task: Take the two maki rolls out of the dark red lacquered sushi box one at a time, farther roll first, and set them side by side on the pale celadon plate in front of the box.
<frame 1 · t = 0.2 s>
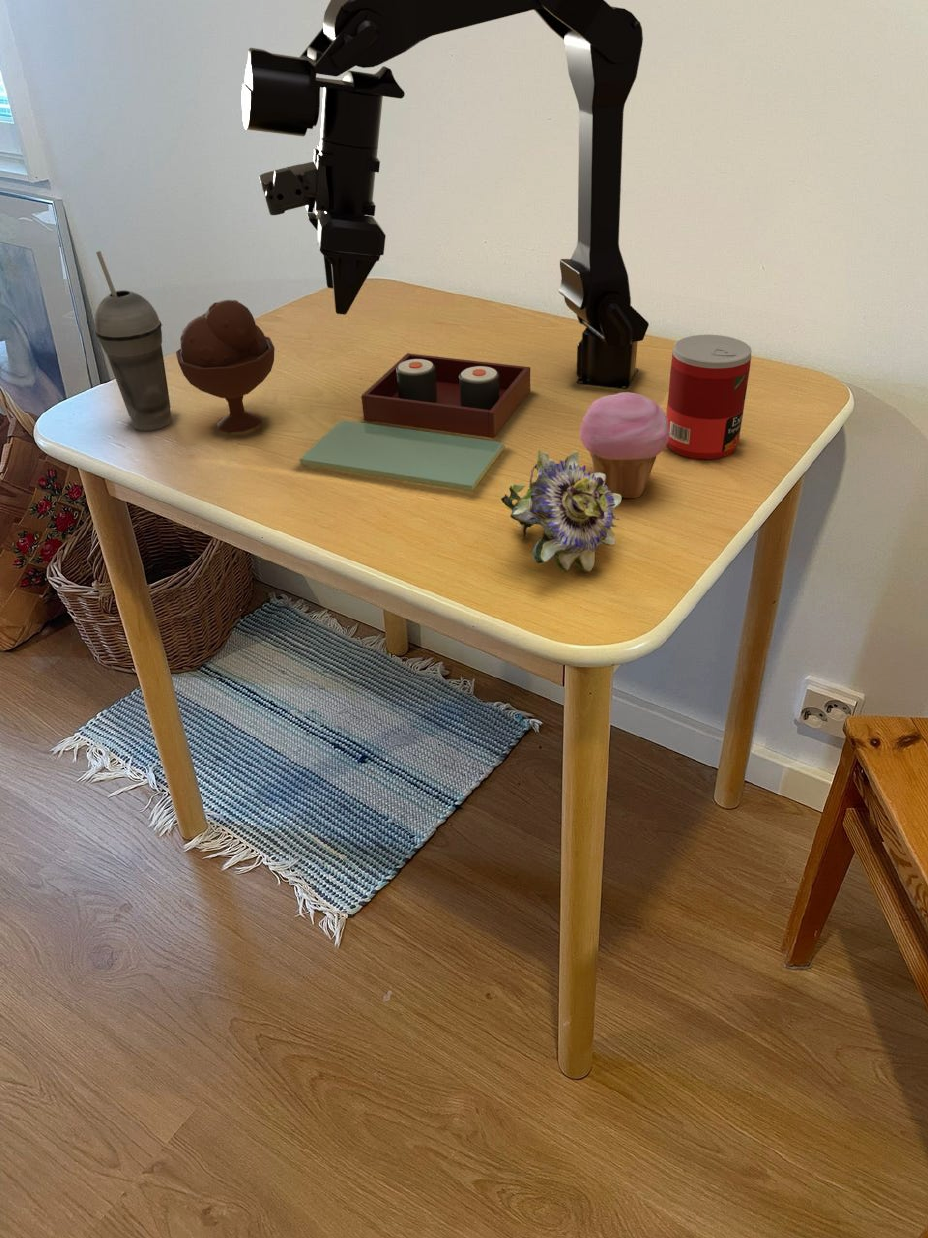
hand: (336, 300, 103), 15 cm above the table, tool pointing down, fingers open, 9 cm apart
passion flower: (556, 551, 90), on the table
cupcake: (620, 489, 98), on the table
ice cream bowl: (240, 428, 113), on the table
roll far: (418, 400, 116), point 1 cm above the table, touching sushi box
canned food: (700, 445, 105), on the table
plate: (403, 460, 105), on the table
sushi box: (448, 409, 115), on the table
beverage cup: (152, 423, 115), on the table
roll near: (480, 408, 113), point 1 cm above the table, touching sushi box
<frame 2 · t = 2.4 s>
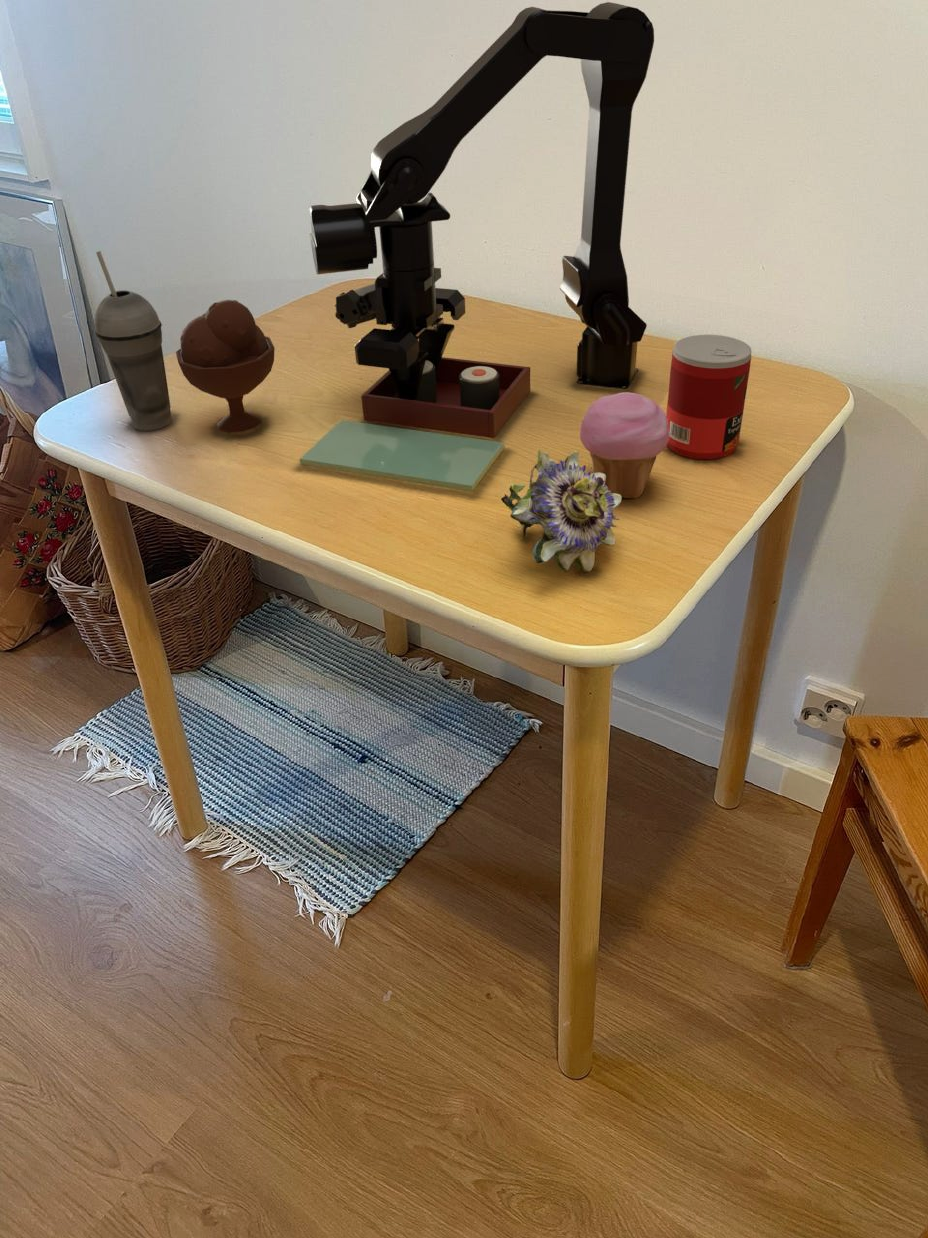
hand: (417, 395, 115), 1 cm above the table, tool pointing down, fingers closed on roll far, 4 cm apart
roll far: (418, 400, 116), point 1 cm above the table, touching gripper, sushi box
everything else where it was.
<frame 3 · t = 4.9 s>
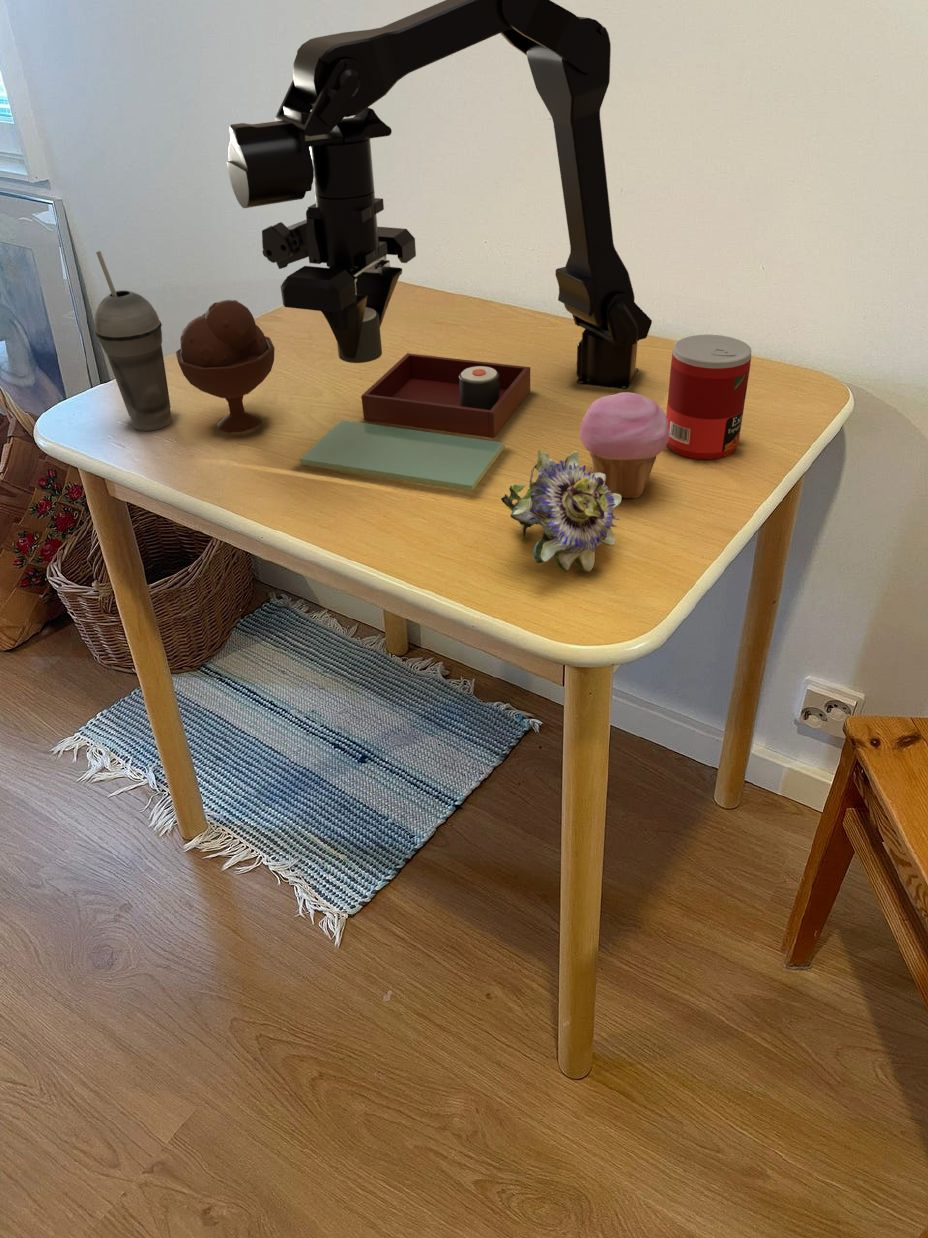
hand: (360, 349, 101), 11 cm above the table, tool pointing down, fingers closed on roll far, 4 cm apart
roll far: (360, 354, 102), point 11 cm above the table, touching gripper
everything else where it was.
when the fingers open (2 cm above the table, at t = 7.6 s): roll far stays where it is, resting on plate.
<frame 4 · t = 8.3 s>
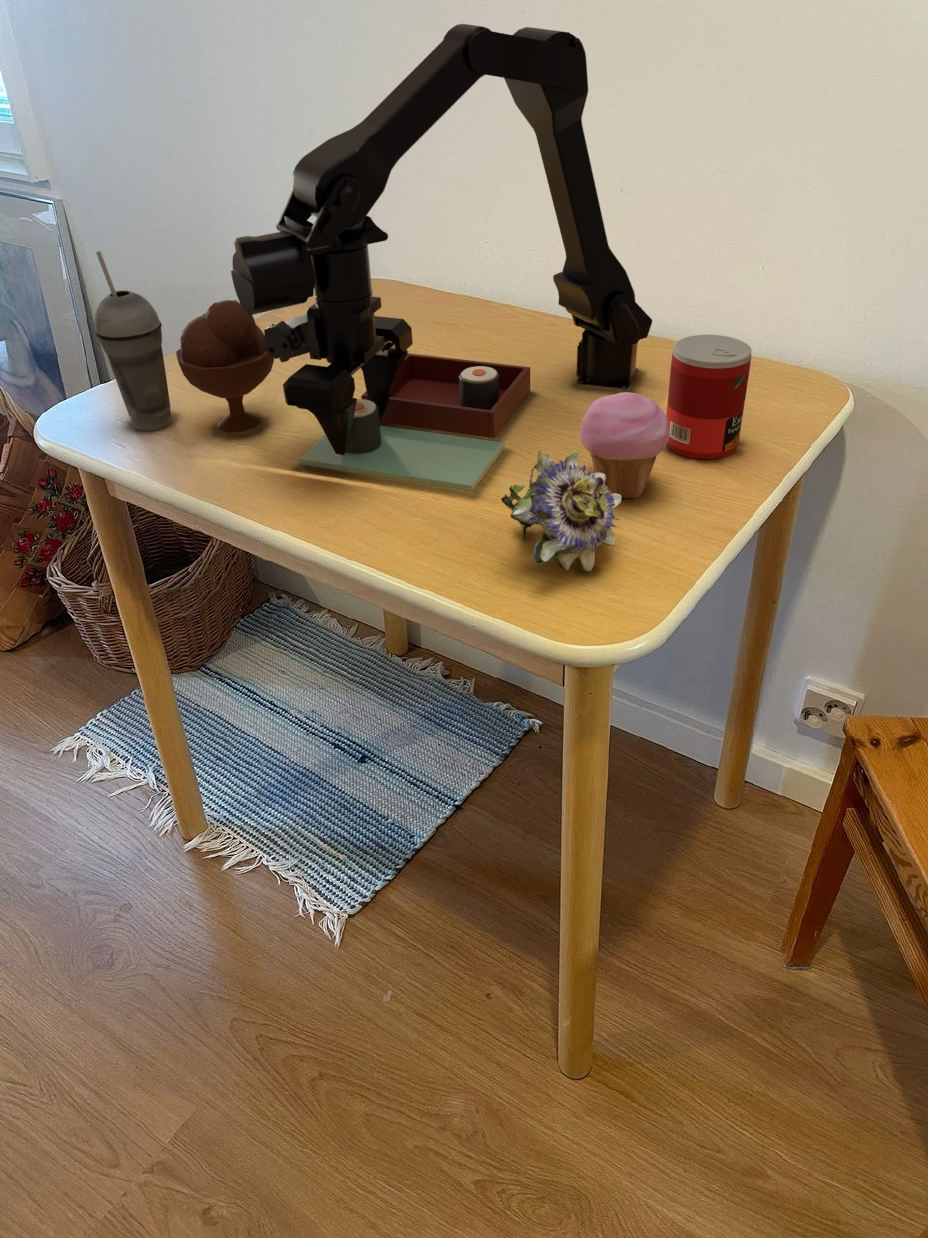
hand: (359, 435, 105), 2 cm above the table, tool pointing down, fingers open, 9 cm apart
roll far: (360, 444, 106), point 1 cm above the table, touching plate
everything else where it was.
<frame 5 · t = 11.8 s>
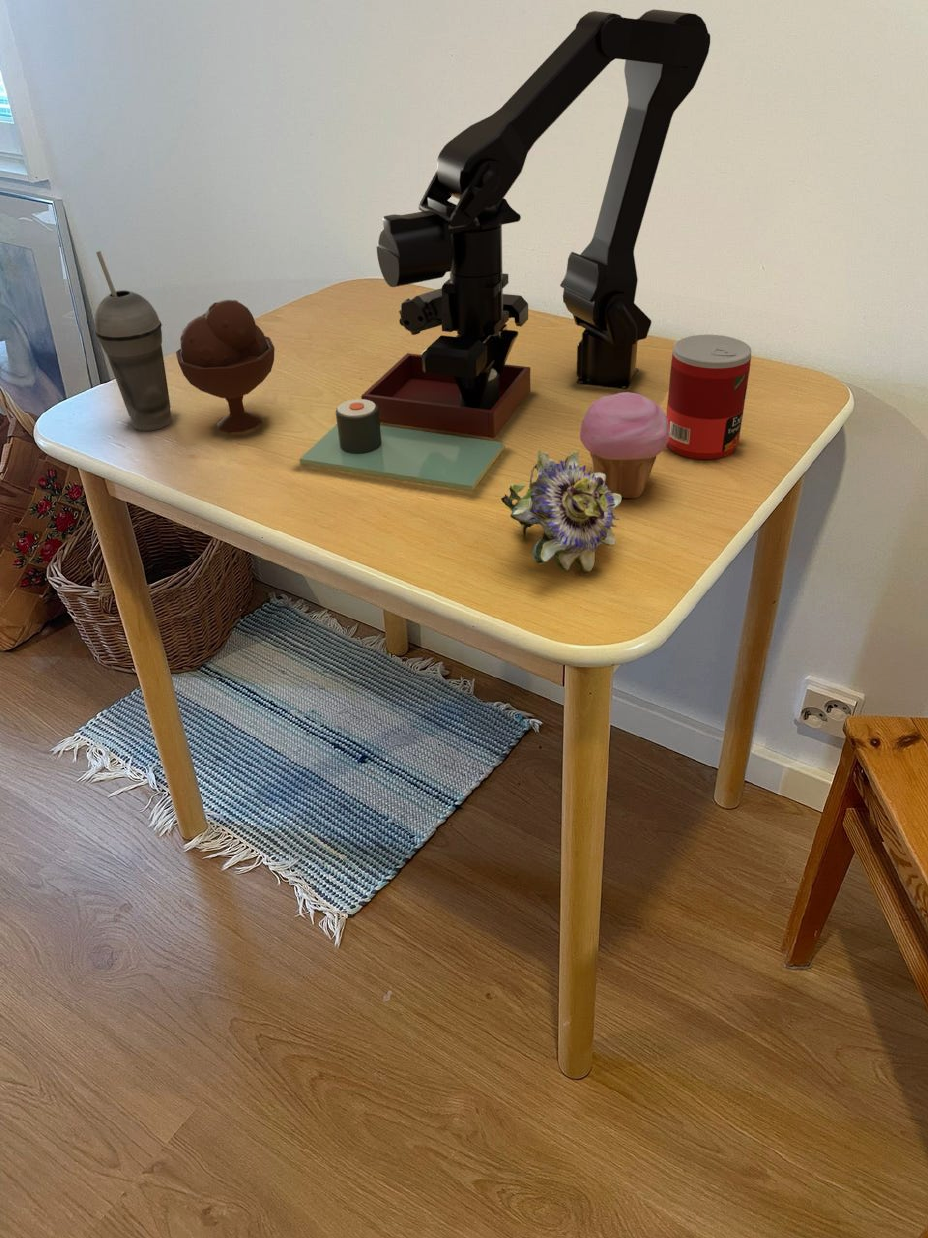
hand: (480, 403, 113), 1 cm above the table, tool pointing down, fingers closed on roll near, 4 cm apart
roll near: (480, 408, 113), point 1 cm above the table, touching gripper, sushi box
everything else where it was.
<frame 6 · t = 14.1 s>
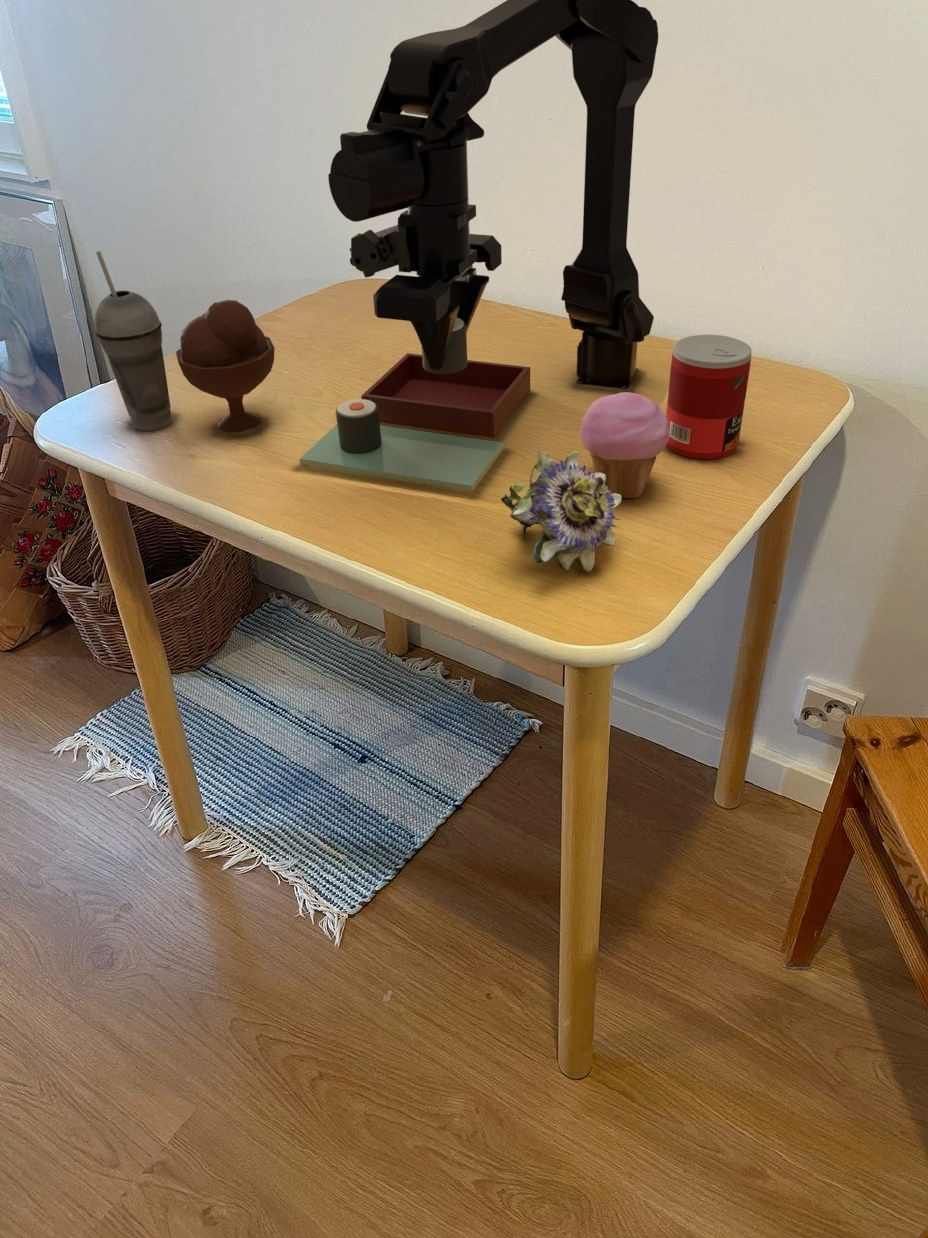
hand: (445, 359, 98), 11 cm above the table, tool pointing down, fingers closed on roll near, 4 cm apart
roll near: (445, 365, 98), point 11 cm above the table, touching gripper
everything else where it was.
when the fingers open (2 cm above the table, at t = 16.7 s): roll near stays where it is, resting on plate.
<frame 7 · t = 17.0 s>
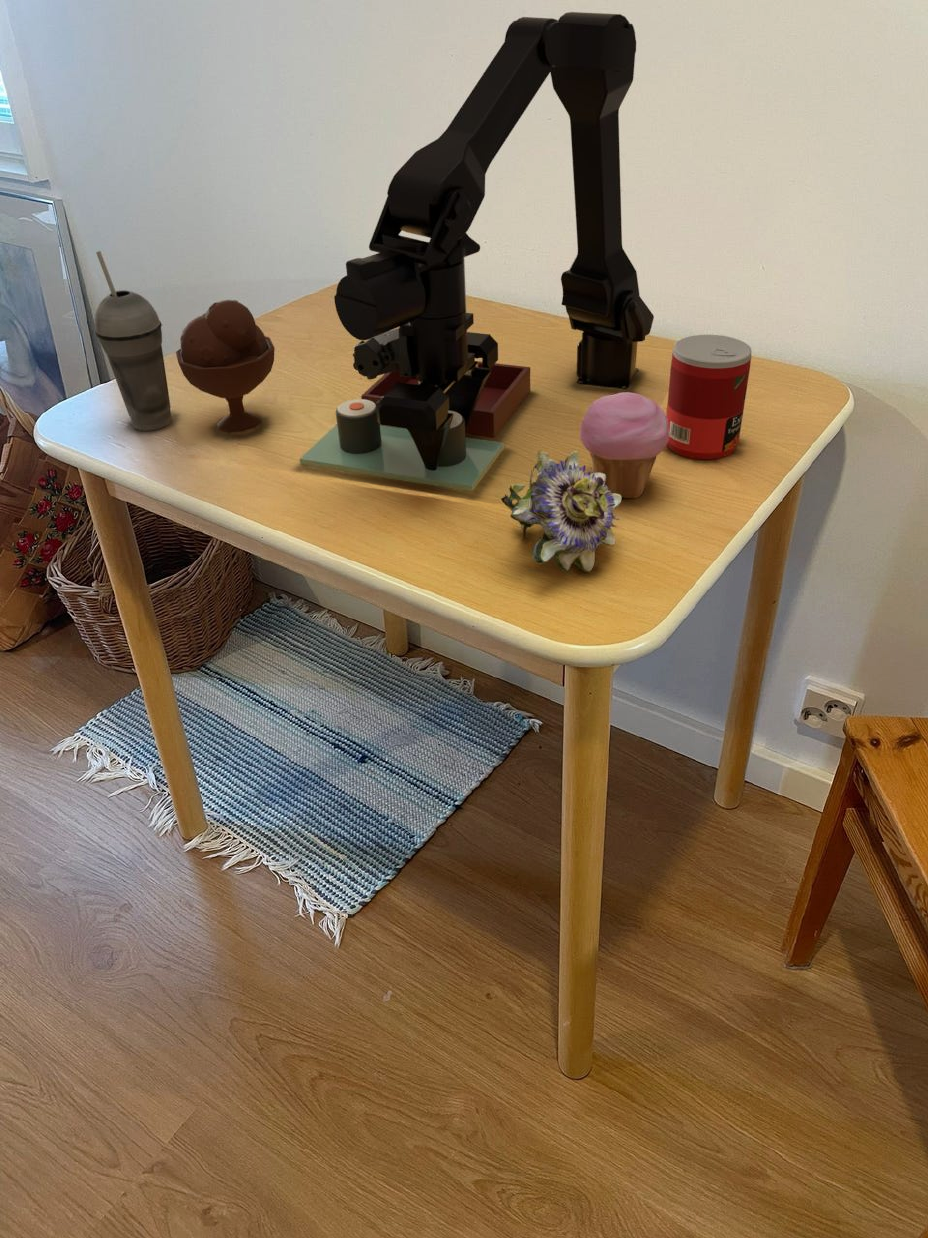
hand: (444, 453, 102), 2 cm above the table, tool pointing down, fingers open, 7 cm apart
roll near: (444, 456, 103), point 1 cm above the table, touching plate
everything else where it was.
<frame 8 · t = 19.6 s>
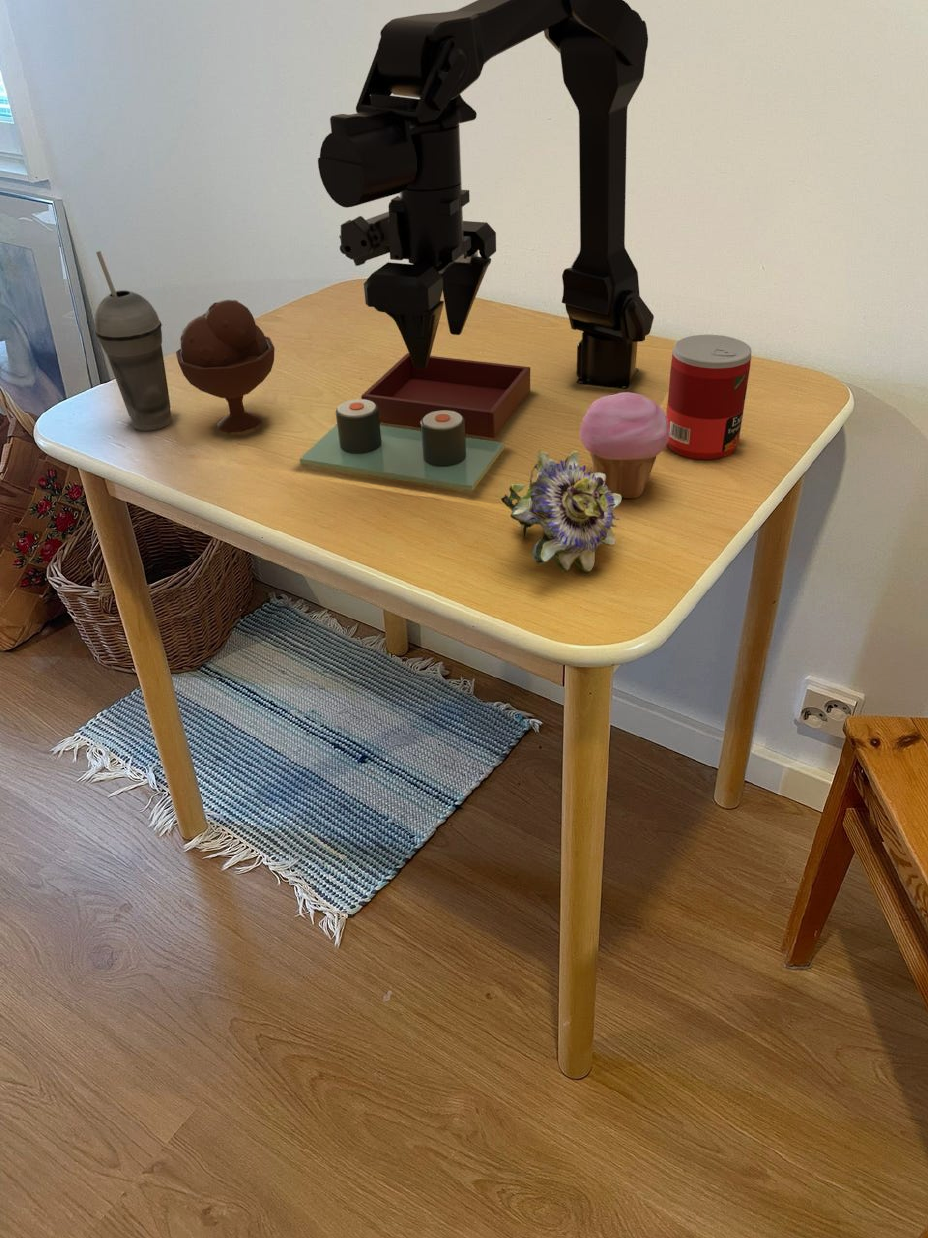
hand: (438, 350, 95), 13 cm above the table, tool pointing down, fingers open, 9 cm apart
nothing on the table moved.
at the end: roll far inside the target area on the plate (5.0 cm from its centre), point 1.2 cm above the plate's base; roll near inside the target area on the plate (5.0 cm from its centre), point 1.2 cm above the plate's base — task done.
